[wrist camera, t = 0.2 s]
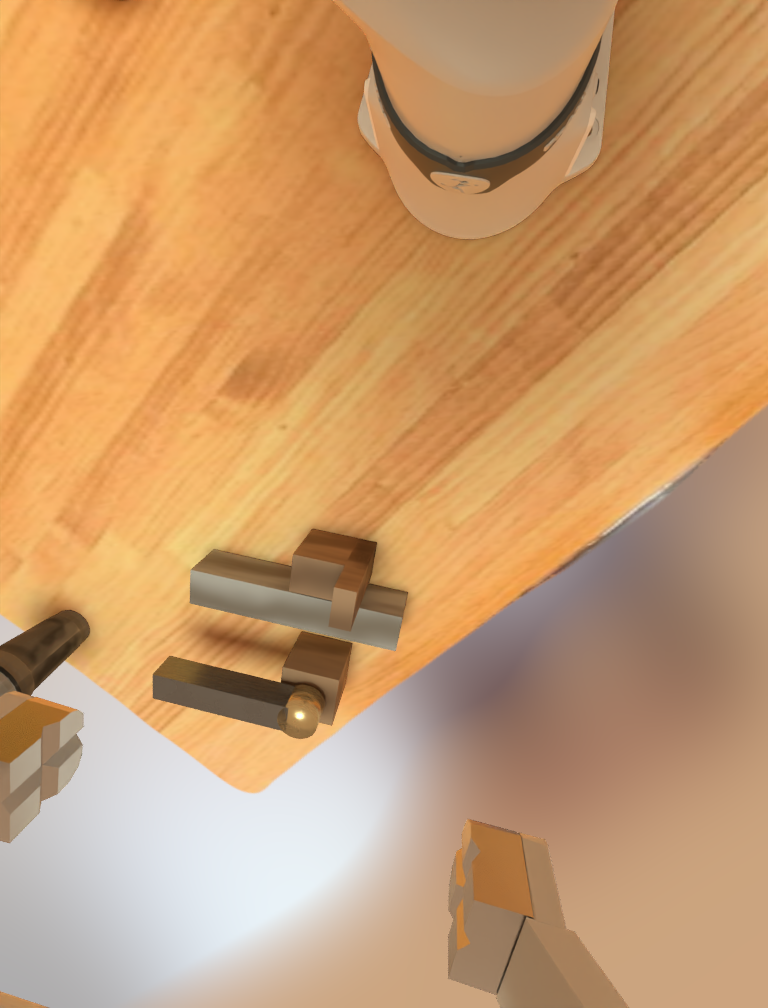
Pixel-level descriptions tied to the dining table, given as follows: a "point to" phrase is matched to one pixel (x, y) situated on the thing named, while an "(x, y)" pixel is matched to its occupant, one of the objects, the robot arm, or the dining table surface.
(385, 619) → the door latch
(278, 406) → the dining table surface
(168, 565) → the dining table surface
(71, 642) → the beverage cup
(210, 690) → the bar
